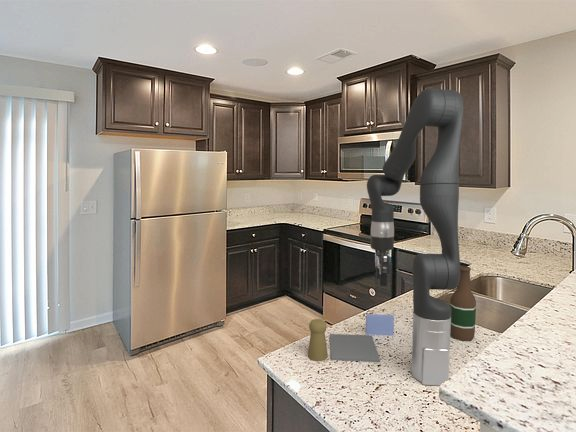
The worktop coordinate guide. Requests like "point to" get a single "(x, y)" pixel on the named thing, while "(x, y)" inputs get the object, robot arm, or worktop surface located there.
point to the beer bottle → (463, 308)
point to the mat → (353, 348)
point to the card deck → (379, 324)
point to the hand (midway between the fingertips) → (381, 282)
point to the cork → (317, 341)
